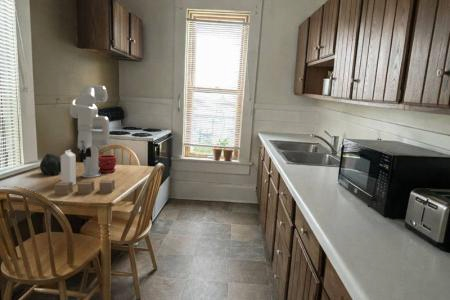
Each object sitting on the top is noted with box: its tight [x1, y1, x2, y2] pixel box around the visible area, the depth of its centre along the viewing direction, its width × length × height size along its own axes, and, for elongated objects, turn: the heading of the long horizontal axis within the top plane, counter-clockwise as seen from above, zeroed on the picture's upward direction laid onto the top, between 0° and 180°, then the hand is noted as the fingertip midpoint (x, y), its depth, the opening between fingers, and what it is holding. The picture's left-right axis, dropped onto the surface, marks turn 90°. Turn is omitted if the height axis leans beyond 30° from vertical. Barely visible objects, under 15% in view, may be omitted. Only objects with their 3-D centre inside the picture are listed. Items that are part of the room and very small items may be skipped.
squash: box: [39, 153, 61, 176], centre depth 212 cm, size 14×15×15 cm
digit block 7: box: [98, 179, 116, 193], centre depth 183 cm, size 7×7×6 cm
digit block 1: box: [54, 181, 74, 196], centre depth 173 cm, size 7×7×6 cm
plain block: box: [77, 179, 95, 195], centre depth 178 cm, size 7×7×6 cm
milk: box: [60, 149, 77, 186], centre depth 188 cm, size 6×6×22 cm
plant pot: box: [99, 154, 117, 174], centre depth 227 cm, size 13×13×12 cm
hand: (85, 158), depth 175 cm, fingers open, 8 cm apart
